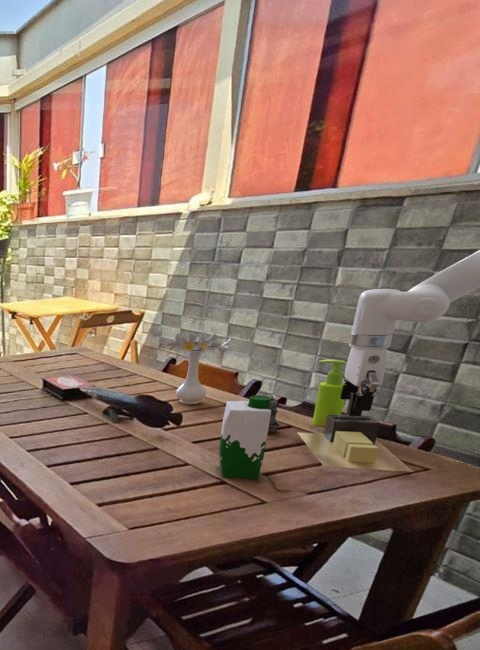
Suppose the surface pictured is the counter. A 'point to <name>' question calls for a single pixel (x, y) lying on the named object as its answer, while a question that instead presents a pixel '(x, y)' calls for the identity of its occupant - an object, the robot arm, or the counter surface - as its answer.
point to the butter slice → (361, 453)
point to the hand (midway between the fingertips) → (354, 404)
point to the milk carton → (244, 437)
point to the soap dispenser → (329, 394)
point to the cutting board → (334, 459)
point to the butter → (349, 440)
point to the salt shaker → (273, 416)
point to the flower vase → (195, 363)
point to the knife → (351, 412)
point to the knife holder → (351, 427)
